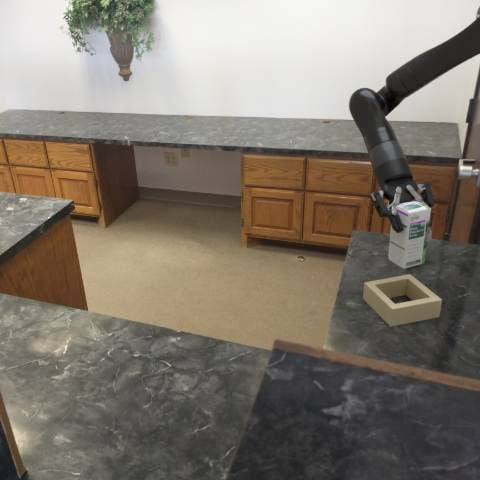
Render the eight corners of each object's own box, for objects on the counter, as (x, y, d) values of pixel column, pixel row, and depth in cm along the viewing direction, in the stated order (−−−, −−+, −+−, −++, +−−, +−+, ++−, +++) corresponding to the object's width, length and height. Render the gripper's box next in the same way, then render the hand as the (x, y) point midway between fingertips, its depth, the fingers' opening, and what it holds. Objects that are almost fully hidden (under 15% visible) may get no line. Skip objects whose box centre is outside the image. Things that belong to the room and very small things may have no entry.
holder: (362, 298, 132) (364, 282, 129) (407, 290, 133) (410, 274, 131) (390, 326, 120) (392, 309, 118) (439, 317, 122) (442, 299, 119)
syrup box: (403, 269, 118) (410, 212, 112) (386, 258, 123) (392, 203, 117) (424, 264, 119) (432, 207, 113) (406, 253, 124) (413, 198, 118)
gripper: (367, 161, 117) (392, 228, 111) (426, 152, 118) (453, 218, 113) (354, 176, 124) (377, 240, 118) (409, 167, 125) (434, 229, 120)
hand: (414, 229), depth 115 cm, fingers closed on syrup box, 6 cm apart
